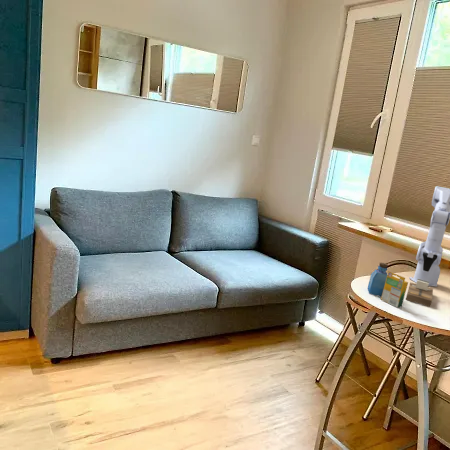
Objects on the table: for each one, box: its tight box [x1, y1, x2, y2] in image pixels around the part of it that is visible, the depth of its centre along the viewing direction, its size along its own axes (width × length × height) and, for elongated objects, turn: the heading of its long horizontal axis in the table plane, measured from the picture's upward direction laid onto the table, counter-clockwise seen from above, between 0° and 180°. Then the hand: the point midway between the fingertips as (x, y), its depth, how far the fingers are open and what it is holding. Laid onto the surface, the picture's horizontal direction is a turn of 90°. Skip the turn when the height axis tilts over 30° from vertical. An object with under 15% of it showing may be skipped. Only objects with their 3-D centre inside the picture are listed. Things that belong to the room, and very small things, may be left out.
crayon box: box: [380, 270, 409, 309], centre depth 169 cm, size 7×3×12 cm, turn 36°
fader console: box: [405, 281, 434, 308], centre depth 183 cm, size 18×9×3 cm, turn 154°
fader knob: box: [415, 279, 429, 291], centre depth 186 cm, size 3×4×3 cm
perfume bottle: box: [367, 262, 388, 297], centre depth 178 cm, size 6×6×12 cm
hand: (425, 270), depth 190 cm, fingers closed
